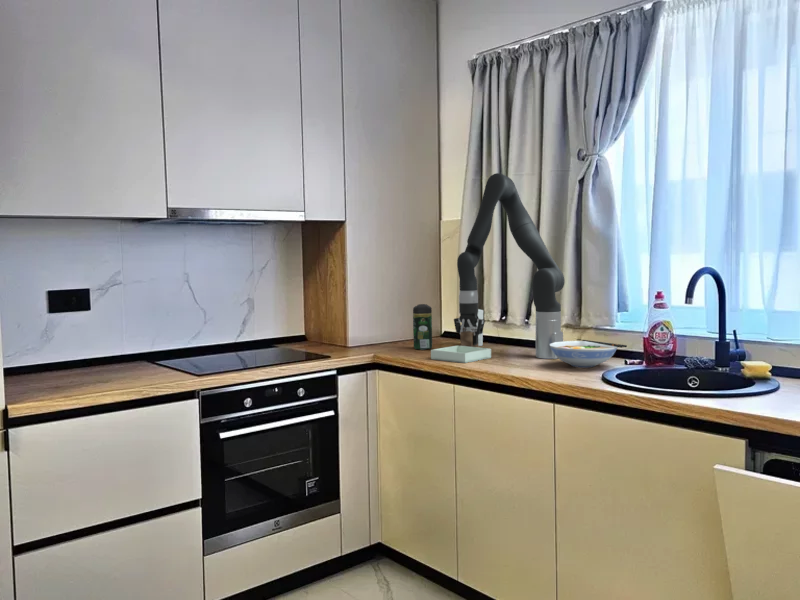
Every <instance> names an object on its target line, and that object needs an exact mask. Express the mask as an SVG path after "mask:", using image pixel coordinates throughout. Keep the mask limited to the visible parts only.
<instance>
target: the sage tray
mask: <svg viewBox="0 0 800 600" xmlns="http://www.w3.org/2000/svg"><path fill="white" fill-rule="evenodd" d="M491 358H492V348H487V347H480V346H478V347H468V346H461V345H452V346H445V347H440V348H434V349H430V359H431V360H435V361H445V362H451V363H458V364H459V363H461V364H467V363H468V362H469V363H472V362H477V361H478V360H479V361H483V359H484V360H488V359H491Z"/></svg>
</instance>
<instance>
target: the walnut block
mask: <svg viewBox="0 0 800 600" xmlns="http://www.w3.org/2000/svg"><path fill="white" fill-rule="evenodd" d="M460 334H461V335H460ZM460 334H459V335H460V346H468V347H479V346H478V343H477V345H473V336H474V335H473V332H472V331H464V332H460Z"/></svg>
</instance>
